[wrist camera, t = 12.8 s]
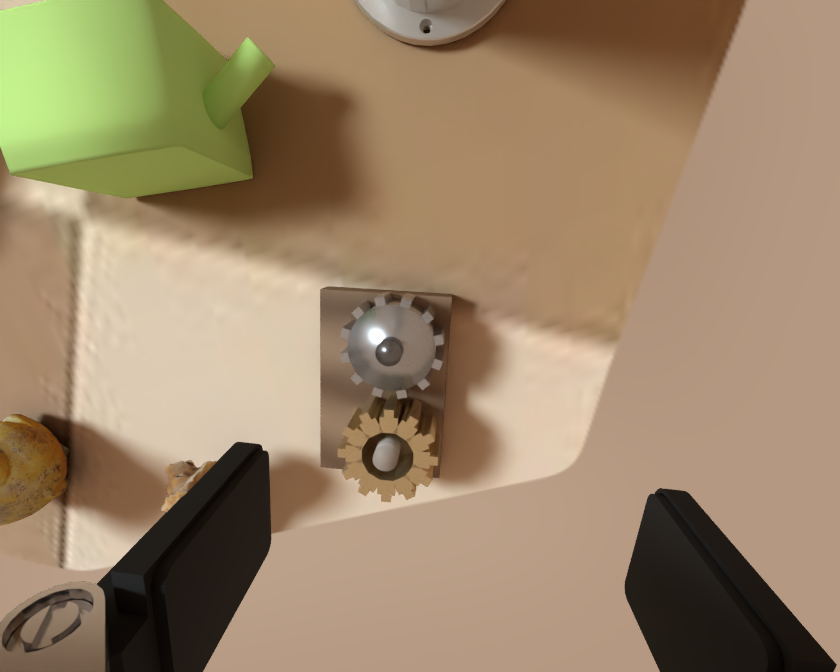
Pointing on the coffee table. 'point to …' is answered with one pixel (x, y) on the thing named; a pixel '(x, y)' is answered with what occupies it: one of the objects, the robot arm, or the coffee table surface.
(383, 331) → the grey gear
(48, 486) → the decorative figurine
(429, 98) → the coffee table surface
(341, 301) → the gear board
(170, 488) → the lion figurine
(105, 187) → the green square teapot
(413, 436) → the brass gear
